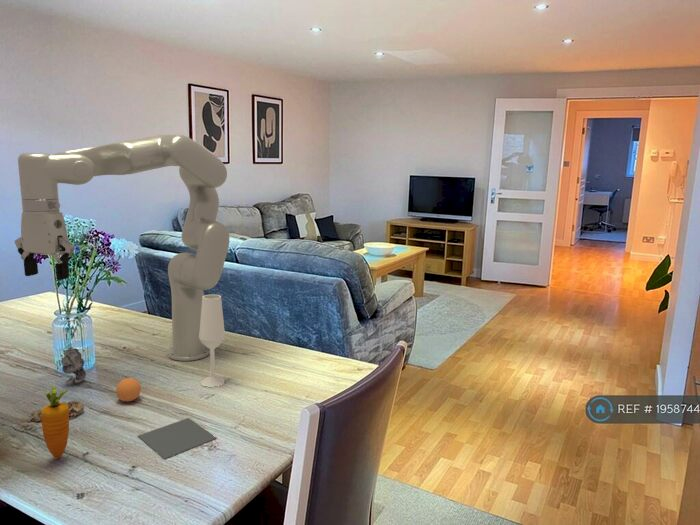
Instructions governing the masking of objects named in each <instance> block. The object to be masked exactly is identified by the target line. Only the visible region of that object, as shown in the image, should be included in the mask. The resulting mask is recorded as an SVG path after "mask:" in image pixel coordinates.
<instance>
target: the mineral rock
mask: <svg viewBox="0 0 700 525" xmlns="http://www.w3.org/2000/svg"><path fill="white" fill-rule="evenodd" d="M61 403H65V404H67V405H68V407H69V421H70V420H73V419H75V418H76V417H78V416H79V415H81V414H83V412H84V408H85V404H84V403H83V402H80V401H78V400H71V401H68V402H66V401H62V402H61ZM41 412H42V409H41V410H40V409H39V410H38V409H37V410H35V411H34V410H33V411H32V413H31V414H30V415H31V420H30V421H31V422H36V423H41V424H42V421H41Z"/></svg>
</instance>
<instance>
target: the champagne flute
mask: <svg viewBox="0 0 700 525" xmlns="http://www.w3.org/2000/svg"><path fill="white" fill-rule="evenodd" d="M223 312H224V310H223V302H222V296H221V295H220V294H204V296H203V297H202V309H201V320H200V332H199V339H200V341H201V342H202V343H203V344H204V345H205V346H206V347H207V348H209V349H210V354H209V374H210V375H209V376H207V377H206V378H204V379H202V380H200V382H201V384H202V385H203V386H210V387H211V386H218V385H221V384H223V383H224V380H225V379H224V378H222V377H219V376H217V375H216V374H215V373H216V372H215V368H216V367H215V366H216V365H215V364H216V363H215V358H216V357H215V349H216V348H218V347H219V346H220V345H221V344H222V343H223V342H224V340H225V338H226V333H225V332H226V331H225V322H224V313H223ZM223 379H224V380H223ZM224 384H225V383H224ZM224 384H223V385H224ZM203 386H202V387H203ZM221 386H222V385H221Z"/></svg>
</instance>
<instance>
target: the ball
mask: <svg viewBox="0 0 700 525" xmlns="http://www.w3.org/2000/svg"><path fill="white" fill-rule="evenodd" d="M141 390H142V388H141V384H140V383H139V381H138V380H137V379H135V378H133V377H126V378H124V379H121V381H120V382H119V383H118V384H117V386H116V387H115V394H116V396H117V398H118V399H119V400H120V401H123V402H132V401H134V400H136V399H137V398H139V395H140V394H141Z"/></svg>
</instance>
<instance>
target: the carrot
mask: <svg viewBox="0 0 700 525" xmlns="http://www.w3.org/2000/svg"><path fill="white" fill-rule="evenodd" d="M50 389H51V391H47V392H45V397H46V398H47V399H48V401H49V402H50V403H49V404H47V405H45V406H44V407H42V408H41V410H42V412H41V421H42V423H41V428H42V429H41V430H42V436H43V440H44V443H45V445H46V447H47V449H48V452H49V453H50V454H51V456H52V457H53V458H54V459H56V460H60V459H61V458H62V457H63V455H64V452H65V450H66V447H67V445H68V439H69V438H68V437H69V430H70V420H69V407H68V405H67V404H65V403H62V402H60V400H61V398H62V397H63V396H64V394H66V393H67V392H68V391H69V390H68V389H64V390H62V391H61V392H60V393H59V395H57V394H58V390H57V387H56V386H55V385H54V386H51V388H50Z"/></svg>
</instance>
